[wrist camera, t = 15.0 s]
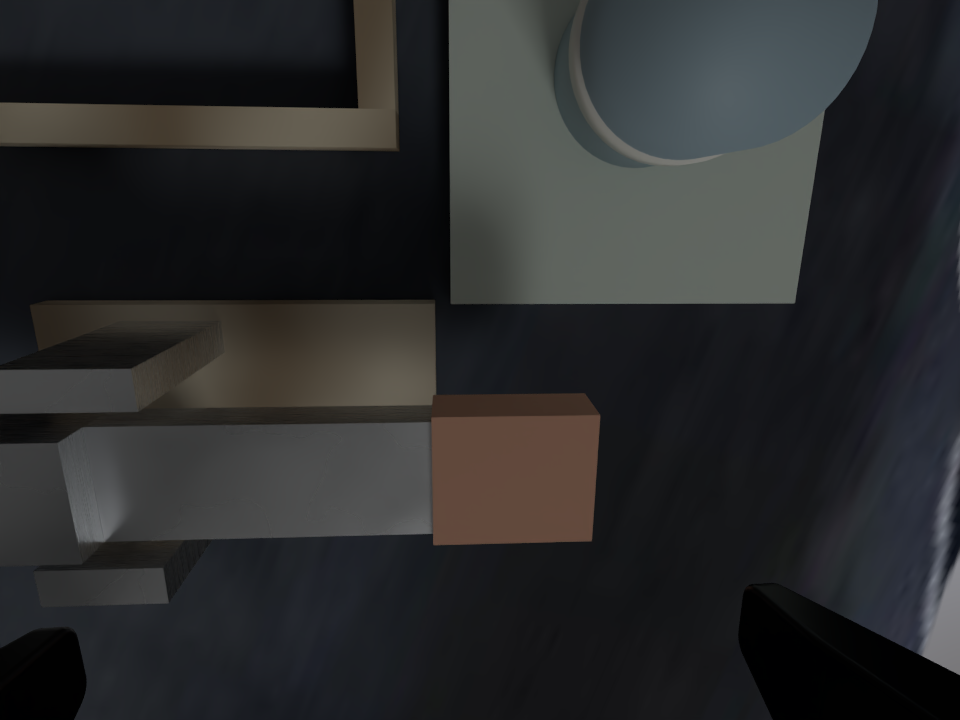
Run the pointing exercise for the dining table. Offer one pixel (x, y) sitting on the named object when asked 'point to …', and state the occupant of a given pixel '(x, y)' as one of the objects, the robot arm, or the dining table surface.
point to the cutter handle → (299, 474)
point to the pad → (600, 189)
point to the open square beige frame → (235, 112)
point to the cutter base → (207, 390)
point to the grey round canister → (702, 73)
